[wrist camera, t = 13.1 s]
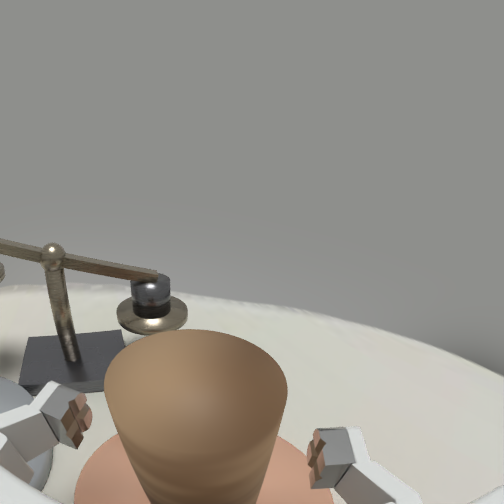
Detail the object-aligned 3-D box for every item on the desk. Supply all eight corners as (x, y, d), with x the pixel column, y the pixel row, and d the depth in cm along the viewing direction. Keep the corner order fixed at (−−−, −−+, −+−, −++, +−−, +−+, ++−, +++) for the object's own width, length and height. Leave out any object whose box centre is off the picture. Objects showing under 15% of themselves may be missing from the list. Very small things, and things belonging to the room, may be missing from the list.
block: (146, 531, 8) (72, 420, 5) (165, 462, 12) (140, 320, 9) (250, 547, 8) (294, 462, 5) (253, 474, 12) (282, 337, 9)
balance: (-27, 394, 12) (-78, 247, 8) (-12, 348, 17) (-42, 224, 14) (200, 374, 22) (203, 225, 19) (176, 332, 28) (176, 209, 24)
